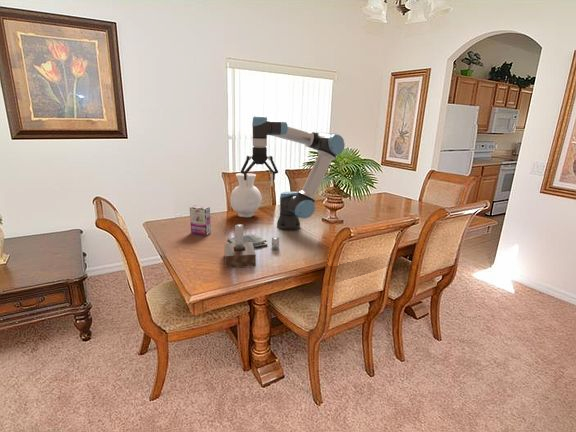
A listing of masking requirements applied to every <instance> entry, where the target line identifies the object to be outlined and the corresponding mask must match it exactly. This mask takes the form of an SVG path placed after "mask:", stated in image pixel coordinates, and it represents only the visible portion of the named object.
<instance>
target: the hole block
mask: <svg viewBox="0 0 576 432" xmlns="http://www.w3.org/2000/svg"><path fill="white" fill-rule="evenodd" d="M224 262H225V269H231V268H232V269H233V268H245V267H247V268H248V267H256V266H257V263H256V262H257V254H256V251H255V249H254V247H253V244H252V242H247V243H244V251H235V243H229V242H228V243H224Z"/></svg>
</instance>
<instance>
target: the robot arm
mask: <svg viewBox="0 0 576 432" xmlns="http://www.w3.org/2000/svg"><path fill="white" fill-rule="evenodd" d="M251 123H252V124H251V125H252V154H251V155H246V158H245V161H244V163H243V166H242V168H241V170H240V173H242V174H244V180H246V187H248V174H247V173H249V172H250V171H251V169H252V168H253V167H254V166H255V165H265V166H266V167H267V169H268V170H269V171H270V172H271V173H270V187H273V186H274V184H273V182H274V181H275V180H276V174H279V170H278V168H277V166H276V164H275V162H274V159H273V158H274V157H273V155H269V156H268V155H267V153H268V147H267V146H268V145H267V144H268V140H267V139H268V136H272V137H275V138H279V139H283V140H286V141H290V142H294V143H297V144H301V145H304V147H306V148H311V149H312V150H314V151H317V157H316V160H315V161H314V163H313V165H312V167H311V169H310V172H309V174H308V176H307V178H306V180H305V182H304V184H303V187H302V189H301V190H300V191H282V192H281V193H280V196H279V197H280V198H279V216H278V218H277V223H276V228H277V229H279V230H284V231H295V230H299V229H300V228H301V221H300V219H299V218H301V219H308V218H310V217H311V216H313V214H314V212H315V210H316V204H315V202H316V198H315V197H316V193H318V192H317V191H318V190H319V188H320V185H321V183H322V181H323V179H324V177H325V175H326V173H327V170H328V169H329V166H330V165H331V162H333V161H335V160H336V157H337V156H338V155H340V154H342V153H343V152H344V150H345V139H344V138H343V137H342V136H341V135H340V134H339V133H327V132H314V131H308V132H307V131H304V130H301V129H298V128H295V127H291V126H288V124H287V122H286V120H285V121H284V120H271V119H270V120H269V119H268V117H267V116H261V115H259V116H258V115H255V116H253V117H252V122H251ZM251 159H252V162H251V163H250V164H249V161H251ZM267 160H268V161H270V163H271V165H272V167H271V166H270V165H269V164H268V162H267ZM248 164H249V166H248V167H247V165H248ZM272 168H273V169H272Z"/></svg>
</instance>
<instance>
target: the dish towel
mask: <svg viewBox="0 0 576 432" xmlns="http://www.w3.org/2000/svg"><path fill="white" fill-rule="evenodd" d="M227 242H228V243H235V237H231V238H227ZM247 242H252V244H253V247H254V250H255V248H256V249H261V248H265V247H268V244H267V242H268V241H267V240H266V239H264V238H263V237H261V236H259V235H258V234H256V233H252V234H246V235H244V243H247Z"/></svg>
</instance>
